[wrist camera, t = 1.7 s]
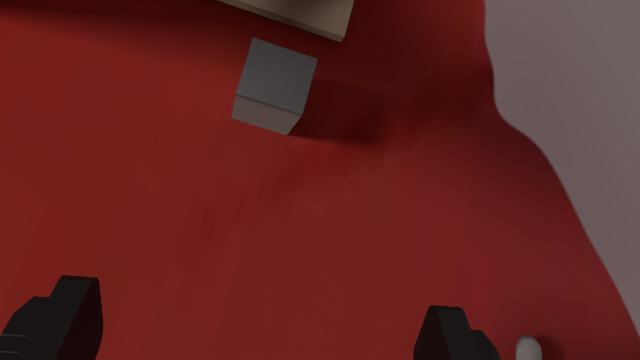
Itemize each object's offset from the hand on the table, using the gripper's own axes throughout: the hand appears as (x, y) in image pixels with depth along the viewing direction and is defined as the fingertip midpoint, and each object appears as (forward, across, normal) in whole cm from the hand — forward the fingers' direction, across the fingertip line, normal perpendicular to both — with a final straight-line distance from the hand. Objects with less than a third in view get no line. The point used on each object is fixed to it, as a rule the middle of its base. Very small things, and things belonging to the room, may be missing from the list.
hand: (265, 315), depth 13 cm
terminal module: (+29, +1, +7) cm, 30 cm away
